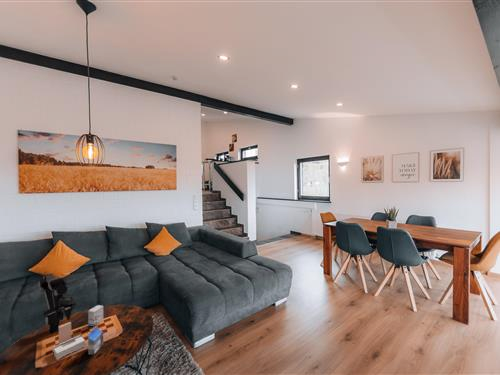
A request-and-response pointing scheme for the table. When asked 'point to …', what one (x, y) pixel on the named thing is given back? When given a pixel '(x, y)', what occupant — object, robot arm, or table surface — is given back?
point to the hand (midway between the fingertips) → (62, 322)
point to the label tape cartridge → (95, 341)
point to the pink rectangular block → (65, 332)
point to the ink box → (95, 315)
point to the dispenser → (68, 346)
